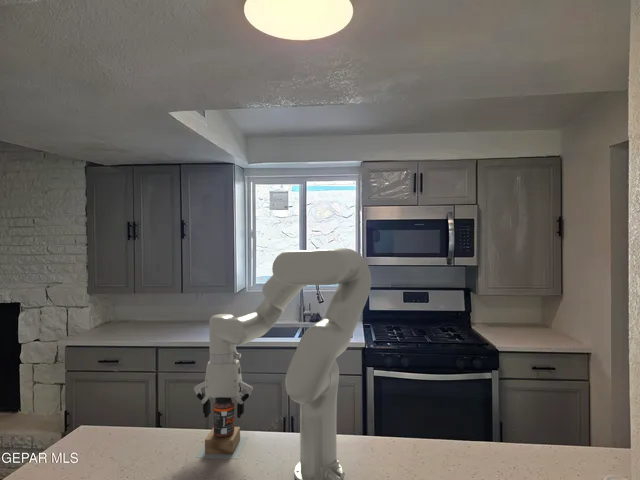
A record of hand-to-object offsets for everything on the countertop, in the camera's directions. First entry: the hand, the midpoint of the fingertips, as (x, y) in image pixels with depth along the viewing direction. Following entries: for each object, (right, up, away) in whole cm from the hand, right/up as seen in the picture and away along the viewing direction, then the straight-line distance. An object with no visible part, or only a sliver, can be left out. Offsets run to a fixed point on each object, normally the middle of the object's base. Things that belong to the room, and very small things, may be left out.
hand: (223, 415), depth 115 cm
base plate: (0, -10, 0) cm, 10 cm away
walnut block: (0, -9, 0) cm, 9 cm away
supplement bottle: (0, -5, 0) cm, 5 cm away
